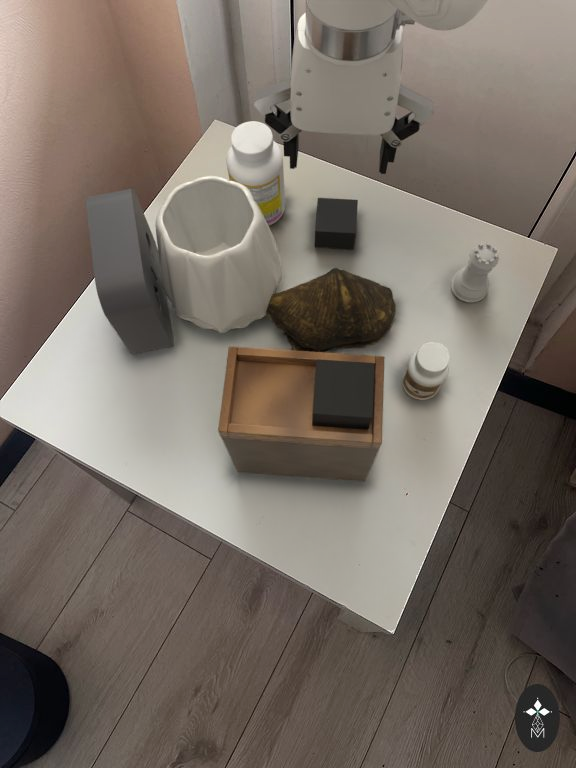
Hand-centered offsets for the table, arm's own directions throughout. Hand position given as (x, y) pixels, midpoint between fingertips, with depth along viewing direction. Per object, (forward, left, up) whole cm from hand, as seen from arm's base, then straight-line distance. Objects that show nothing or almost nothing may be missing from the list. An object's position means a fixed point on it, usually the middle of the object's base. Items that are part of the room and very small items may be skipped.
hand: (338, 160), depth 66 cm
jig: (+2, +28, -13) cm, 31 cm away
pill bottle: (-11, +20, -13) cm, 26 cm away
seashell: (0, +13, -13) cm, 19 cm away
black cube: (0, 0, -13) cm, 13 cm away
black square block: (-2, +28, +2) cm, 28 cm away
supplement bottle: (+10, -3, -13) cm, 17 cm away
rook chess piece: (-17, +7, -13) cm, 23 cm away
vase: (+13, +10, -13) cm, 21 cm away
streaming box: (+25, +13, -6) cm, 29 cm away
